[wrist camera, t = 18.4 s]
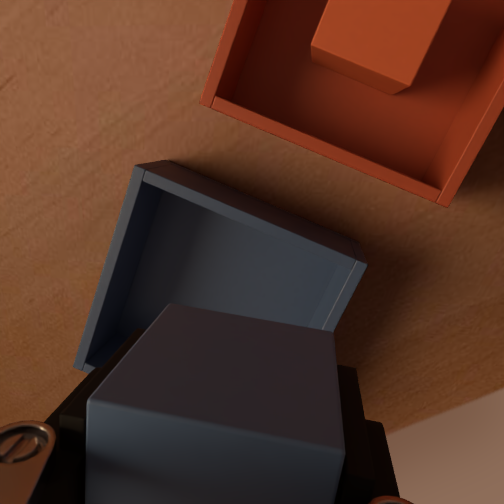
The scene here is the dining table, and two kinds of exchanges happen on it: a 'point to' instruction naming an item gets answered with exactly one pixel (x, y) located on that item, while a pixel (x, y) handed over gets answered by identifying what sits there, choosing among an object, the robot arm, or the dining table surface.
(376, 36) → the terracotta block
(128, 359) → the blue block
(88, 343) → the blue bin
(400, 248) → the dining table surface
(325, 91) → the terracotta bin
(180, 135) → the dining table surface
